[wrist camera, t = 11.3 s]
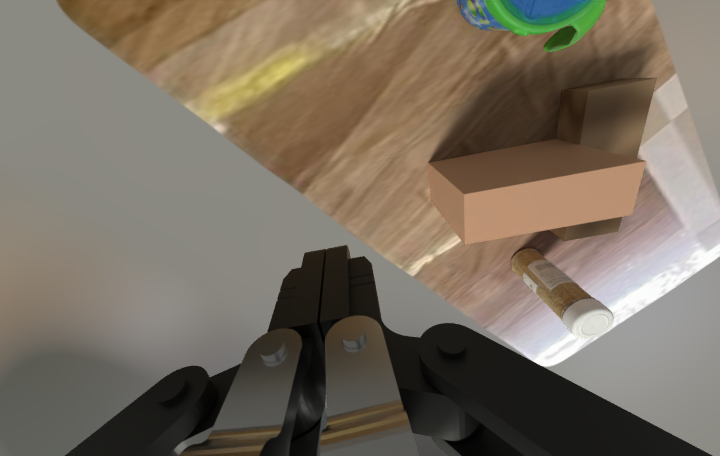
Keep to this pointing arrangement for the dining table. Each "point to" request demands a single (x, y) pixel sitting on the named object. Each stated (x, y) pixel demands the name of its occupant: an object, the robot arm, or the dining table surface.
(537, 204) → the block
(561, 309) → the sprinkles bottle
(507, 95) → the dining table surface
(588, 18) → the snack cup
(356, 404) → the robot arm
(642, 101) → the brown wooden bar
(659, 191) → the dining table surface
